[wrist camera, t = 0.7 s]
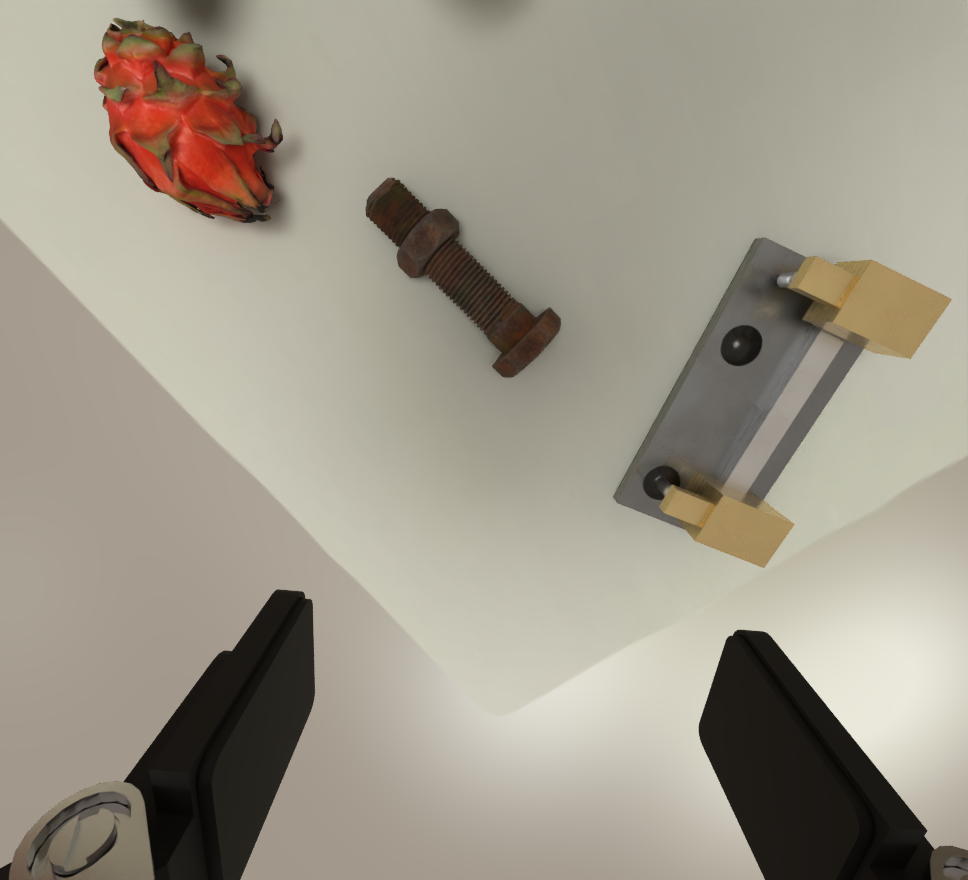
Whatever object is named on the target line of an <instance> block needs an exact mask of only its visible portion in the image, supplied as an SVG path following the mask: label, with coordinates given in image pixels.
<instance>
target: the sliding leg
mask: <svg viewBox="0 0 968 880" xmlns="http://www.w3.org/2000/svg"><path fill="white" fill-rule="evenodd" d="M777 284H778V286H780V287H783V288H785V287H788V288H789V289H791V290H793V291H795V292H797V293H799V294H802V295H804V296H806V297H808V298H810V299H812V300H814V301H813V302H812V304H811V306H810V307H809V309H808V310H807V312H806V314H805V315H804V317H803V319H802V320H804V321H806V322H809V323H811V324H813V325H815V326H817V327H819V328H821V329H824V330H826V331H828V332H830V333H832V334H834V335H836V336H839V337H841V338H843V339H845V340H847V341H849V342H851V343H854V344H856V345H858V346H860V347H862V348H864V349H866V350H869V351H871V352H873V353H878V354H884V355H890V356H896V357H902V358H908V359H911V357H912V356H913V354H914V353H915V352H916V350H917V349H918V347H919V346H920V344H921V343H922V342H923V340H924V339H925V337H926V336H927V334H928V333H929V332H930V330H931V329H932V327H933V326H934V324H935V323H936V322H937V320H938V319H939V317H940V316H941V314H942V313H943V312H944V310H945V309H946V307H947V306H948V304H949V303H950V302H951V300H952V299H950V298H948V297H946V296H944V295H942V294H940V293H938V292H936V291H934V290H932V289H930V288H928V287H926V286H924V285H922V284H920V283H918V282H916V281H914V280H912V279H910V278H908V277H906V276H904V275H902V274H900V273H898V272H896V271H894V270H892V269H890V268H888V267H886V266H884V265H882V264H880V263H878V262H875V261H873V260H864V261H851V262H838V263H836V265H833V264H831V263H829V262H827V261H825V260H823V259H821V258H819V257H817V256H815V257H806V258H805V260H804V261H803V263H802V265H801V266H800V268H799V270H798V272H785V273H782V274H780V275H779V277H778V279H777Z"/></svg>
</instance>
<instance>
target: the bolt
mask: <svg viewBox="0 0 968 880" xmlns="http://www.w3.org/2000/svg"><path fill="white" fill-rule="evenodd" d="M366 216H367V217H369V218H370V220H371V221H373V222H374V224H376V225H377V227H378V228H381V231H383V232H385V235H387V236H388V238H389V239H392V242H394V243H396V246H400V247H399V250H398V253H397V261H398V265H399V267H400V268H401V269H402V270H403V271H404V272H405V273H406V274H407V275H408V276H409V277H410V278H419V277H422V276H423V275H424V274H425V275H429V279H430V278H432V282H436V286H437V285H439V289H443V293H445V292H446V296H450V300H451V299H454V300H453V303H457V306H460V309H461V310H463V309H464V313H467V316H468V317H469V316H471V320H473V319H474V323H477V327H479V326H481V329H480V330H484V333H485V334H486V335H487V337H488V339H489V340H490V341H491V342H492V343H493V344H494V345H495V346H496V347H497V348H498V349H499V350H500V351H501V352H502V354H501V355H500V357H499V358H498V359H497V361H496V362H495V363H494V364H493V366H492V367H493V368H494V369H495V370H496V371H497V372H498V373H499V374H500V375H501V376H503V377H514V376H515V375H517V374H518V373H519V372H520V371H522V370H523V369H524V368H525V367H526V366H527V365H528V364H530V363H531V362H532V361H533V360H534V359H535V358H536V357H537V356H538V355H539V354H540V353H541V352H542V351H543V350H544V349H545V347H546V346H547V345H548V344H549V343H550V342H551V341H552V339H553V338H554V337H555V336H556V335H557V333H558V332H559V330H560V326H561V320H560V318H559V317H558V316H557V315H556V313H555V312H554V311H553V310H552V309H551V308H548V309H547V310H546V311H544V312H543V313H542V314H541V315H539V316H538V317H537V318H535V317H534V316H533V315H532V314H531V313H530V312H529V311H528V310H527V309H526V308H525V307H524V306H523V305H522V304H520V303H518V302H517V301H515V299H514V298H510V297H511V294H510V295H507V292H508V291H504V287H503V288H500V286H501V284H497V280H494V281H493V278H494V277H493V276H492V277H489V276H490V273H486V272H487V270H483V266H481V267H479V265H480V263H476V259H473V255H471V256H469V252H465V250H466V249H465V248H464V249H462V245H458V244H459V241H455V239H456V238H457V236H458V234H459V222H458V221H457V219H456V218H455V217H454V216H453V215H452V214H451V213H450V212H449V211H448V210H447V209H435V210H433V211H431V212H430V211H426V207H423V205H422V203H419V200H418V199H416V200H415V196H414V195H411V192H410V191H409V192H408V190H407V188H404V185H403V184H401V183H400V180H395V178H387V179H386V180H385V181H384V182H383V183H382V184H381V185H380V186H379V187H378V188H377V189H376V190H375V191H374V192H373V193H372V194H371V195H370V196H369V197H368V199H367V206H366ZM472 259H473V260H472Z"/></svg>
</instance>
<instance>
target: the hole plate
mask: <svg viewBox="0 0 968 880" xmlns="http://www.w3.org/2000/svg"><path fill="white" fill-rule="evenodd" d="M805 258H806V257H804V256H802V255H800V254H798V253H796V252H794V251H792V250H790V249H788V248H786V247H783V246H781V245H779V244H777V243H775V242H773V241H771V240H769V239H767V238H759V239H755V241H754V243H753V244H752V246H751V248H750V250H749V252H748V254H747V255H746V257H745V259H744V261H743V263H742V264H741V266H740V268H739V270H738V272H737V273H736V275H735V277H734V279H733V281H732V283H731V284H730V286H729V288H728V290H727V292H726V293H725V295H724V297H723V299H722V301H721V302H720V304H719V306H718V308H717V310H716V312H715V313H714V315H713V317H712V319H711V321H710V322H709V324H708V326H707V328H706V330H705V332H704V333H703V335H702V337H701V339H700V341H699V342H698V344H697V346H696V348H695V350H694V351H693V353H692V355H691V357H690V359H689V361H688V362H687V364H686V366H685V368H684V370H683V371H682V373H681V375H680V377H679V379H678V381H677V382H676V384H675V386H674V388H673V390H672V391H671V393H670V395H669V397H668V399H667V400H666V402H665V404H664V406H663V408H662V410H661V411H660V413H659V415H658V417H657V419H656V420H655V422H654V424H653V426H652V428H651V430H650V431H649V433H648V435H647V437H646V439H645V440H644V442H643V444H642V446H641V448H640V449H639V451H638V453H637V455H636V457H635V459H634V460H633V462H632V464H631V466H630V468H629V469H628V471H627V473H626V475H625V477H624V479H623V480H622V482H621V484H620V486H619V488H618V489H617V491H616V493H615V495H614V498H615V500H616V502H617V503H619V504H622V505H624V506H627V507H629V508H632V509H634V510H637V511H639V512H642V513H644V514H647V515H649V516H652V517H655V518H657V519H660V520H662V521H665V522H667V523H670V524H672V525H675V526H677V527H680V528H682V529H685V530H686V531H687V532H688V533H689V535H690V536H691V537H692V538H693V539H694V541H697V542H699V543H702V544H704V545H707V546H709V547H712V548H714V549H717V550H720V551H722V552H725V553H727V554H730V555H732V556H735V557H737V558H740V559H743V560H745V561H748V562H750V563H753V564H755V565H758V566H760V567H763V568H764V567H765V566H766V564H767V563H768V561H769V560H770V559H771V557H772V556H773V554H774V553H775V551H776V550H777V549H778V547H779V546H780V544H781V543H782V541H783V540H784V539H785V537H786V536H787V534H788V533H789V531H790V530H791V529H792V527H793V526H794V523H792V522H791V521H790V520H788V519H787V518H786V517H785V516H783V515H782V514H781V513H779V512H778V511H777V510H775V509H774V508H773V507H771V506H770V505H769V504H768V503H766V502H765V501H764V500H763V499H764V498H765V496H766V495H767V493H768V492H769V490H770V489H771V487H772V486H773V484H774V483H775V481H776V480H777V478H778V477H779V475H780V474H781V472H782V471H783V469H784V468H785V466H786V465H787V463H788V462H789V460H790V459H791V457H792V456H793V454H794V453H795V451H796V450H797V448H798V447H799V445H800V444H801V442H802V441H803V439H804V438H805V436H806V435H807V433H808V432H809V430H810V429H811V427H812V426H813V424H814V423H815V421H816V420H817V418H818V417H819V415H820V414H821V412H822V411H823V409H824V408H825V406H826V405H827V403H828V402H829V400H830V399H831V397H832V395H833V394H834V392H835V391H836V389H837V388H838V386H839V385H840V383H841V382H842V380H843V379H844V377H845V376H846V374H847V373H848V371H849V370H850V368H851V367H852V365H853V364H854V362H855V361H856V359H857V358H858V356H859V355H860V353H861V352H862V350H863V349H864V348H862V347H860V346H858V345H856V344H854V343H851V342H849V341H847V340H845V339H843V338H841V337H839V336H836V335H834V334H832V333H830V332H828V331H826V330H824V329H821V328H819V327H817V326H815V325H813V324H811V323H809V322H806V321H804V320H802V319H803V317H804V315H805V314H806V312H807V310H808V309H809V307H810V306H811V304H812V302H813V301H814V300H812V299H810V298H808V297H806V296H804V295H802V294H799V293H797V292H795V291H793V290H791V289H789V288H788V287H785V288H783V287H780V286H778V284H777V279H778V277H779V275H780V274H782V273H785V272H798V270H799V268H800V266H801V265H802V263H803V261H804V260H805Z"/></svg>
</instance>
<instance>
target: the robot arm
mask: <svg viewBox="0 0 968 880" xmlns="http://www.w3.org/2000/svg"><path fill="white" fill-rule="evenodd" d="M314 679H315V678H314V639H313V604H312V600H311V599H305V594H304V592H300V591H289V590H276V591H275V592H274V593H273V594H272V595H271V597H270V598H269V600H268V601H267V603H266V604H265V605H264V607H263V608H262V610H261V611H260V612H259V614H258V615H257V617H256V618H255V619H254V621H253V622H252V624H251V625H250V627H249V628H248V629H247V631H246V632H245V634H244V635H243V636H242V638H241V639H240V641H239V642H238V644H237V645H236V647H235V648H234V649H233V651H223V652H221V653H219V654H218V655H217V657H216V658H215V659H214V660H213V661H212V663H211V664H210V665H209V667H208V668H207V669H206V671H205V672H204V674H203V675H202V676H201V678H200V679H199V680H198V682H197V683H196V684H195V686H194V687H193V688H192V690H191V691H190V692H189V694H188V695H187V696H186V698H185V699H184V701H183V702H182V703H181V705H180V706H179V707H178V709H177V710H176V711H175V713H174V714H173V716H172V717H171V718H170V720H169V721H168V722H167V724H166V725H165V726H164V728H163V729H162V730H161V732H160V733H159V735H158V736H157V737H156V739H155V740H154V741H153V743H152V744H151V745H150V747H149V748H148V749H147V751H146V752H145V753H144V755H143V756H142V758H141V759H140V760H139V762H138V763H137V764H136V766H135V767H134V768H133V770H132V771H131V773H130V774H129V775H128V777H127V778H126V779H125V781H124V782H119V781H113V782H106V783H99V784H97V785H94V786H91V787H88V788H85V789H83V790H80V791H79V792H77V793H75V794H74V795H71V796H70V797H68V798H66V799H64V800H63V801H61V802H60V803H58V804H57V805H56V806H55V807H54V808H52V809H51V810H49V811H48V812H47V813H46V814H44V815H43V816H42V817H41V818H40V819H39V820H38V822H37V823H36V824H35V825H34V826H33V827H32V828H31V829H30V830H29V831H28V832H27V833H26V835H25V837H24V838H23V840H22V841H21V843H20V845H19V846H18V848H17V849H16V851H15V854H14V857H13V861H12V862H11V863H9V864H8V865H6V866H4V867H2V868H0V880H240V879H241V876H242V874H243V872H244V869H245V867H246V864H247V862H248V860H249V857H250V855H251V853H252V850H253V848H254V846H255V843H256V841H257V838H258V836H259V833H260V831H261V829H262V826H263V824H264V822H265V819H266V817H267V815H268V812H269V810H270V807H271V805H272V803H273V800H274V798H275V795H276V793H277V790H278V788H279V786H280V783H281V781H282V779H283V776H284V774H285V771H286V769H287V767H288V764H289V762H290V760H291V757H292V755H293V752H294V750H295V748H296V745H297V743H298V741H299V738H300V736H301V733H302V731H303V729H304V726H305V724H306V721H307V719H308V716H309V714H310V712H311V709H312V706H313V702H314V696H315V680H314ZM699 736H700V740H701V743H702V745H703V747H704V750H705V752H706V754H707V756H708V758H709V760H710V762H711V765H712V767H713V769H714V771H715V773H716V775H717V777H718V779H719V782H720V784H721V786H722V788H723V790H724V792H725V795H726V796H727V799H728V801H729V803H730V805H731V807H732V810H733V812H734V814H735V816H736V818H737V820H738V823H739V825H740V827H741V829H742V831H743V833H744V835H745V838H746V840H747V842H748V844H749V846H750V848H751V850H752V852H753V854H754V857H755V859H756V861H757V863H758V865H759V868H760V870H761V872H762V874H763V876H764V878H765V880H968V850H965V849H961V848H958V847H954V846H939V847H938V848H936V849H934V848H933V847H932V846H931V844H930V843H929V842H928V841H927V839H926V838H925V837H924V835H925V834H926V832H927V830H926V828H925V827H924V826H923V825H922V824H921V822H920V821H919V820H918V819H917V817H916V816H915V815H914V813H913V812H912V811H911V810H910V809H909V807H908V806H907V805H906V804H905V802H904V801H903V800H902V799H901V797H900V796H899V795H898V794H897V792H896V791H895V790H894V789H893V787H892V786H891V785H890V784H889V782H888V781H887V780H886V779H885V778H884V776H883V775H882V774H881V773H880V771H879V770H878V769H877V768H876V766H875V765H874V764H873V763H872V762H871V760H870V759H869V758H868V756H867V755H866V754H865V753H864V752H863V750H862V749H861V748H860V747H859V745H858V744H857V743H856V742H855V740H854V739H853V738H852V737H851V735H850V734H849V733H848V732H847V730H846V729H845V728H844V727H843V726H842V724H841V723H840V722H839V720H838V719H837V718H836V717H835V716H834V714H833V713H832V712H831V711H830V710H829V708H828V707H827V706H826V704H825V703H824V702H823V701H822V699H821V698H820V697H819V696H818V694H817V693H816V692H815V691H814V690H813V688H812V687H811V686H810V685H809V683H808V682H807V681H806V680H805V678H804V677H803V676H802V675H801V673H800V672H799V671H798V670H797V668H796V667H795V666H794V665H793V664H792V662H791V661H790V660H789V659H788V657H787V656H786V655H785V654H784V652H783V651H782V650H781V649H780V648H779V646H778V645H777V644H776V642H775V641H774V640H773V639H772V637H771V636H770V635H769V634H767V633H765V632H761V631H750V630H749V631H748V630H737V631H736V632H735V633H734V634H733V636H729V637H728V638H727V640H726V642H725V645H724V648H723V651H722V655H721V658H720V661H719V664H718V667H717V670H716V673H715V676H714V680H713V682H712V686H711V689H710V692H709V695H708V698H707V701H706V704H705V707H704V710H703V713H702V717H701V720H700V723H699Z"/></svg>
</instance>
